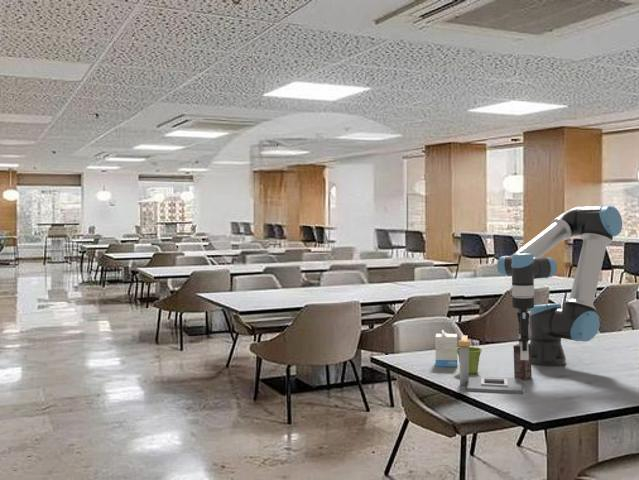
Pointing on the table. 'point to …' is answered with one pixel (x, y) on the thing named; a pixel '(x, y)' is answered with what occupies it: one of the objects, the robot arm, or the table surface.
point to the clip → (464, 341)
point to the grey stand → (485, 379)
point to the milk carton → (446, 349)
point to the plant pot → (472, 358)
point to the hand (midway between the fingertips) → (523, 356)
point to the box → (522, 364)
